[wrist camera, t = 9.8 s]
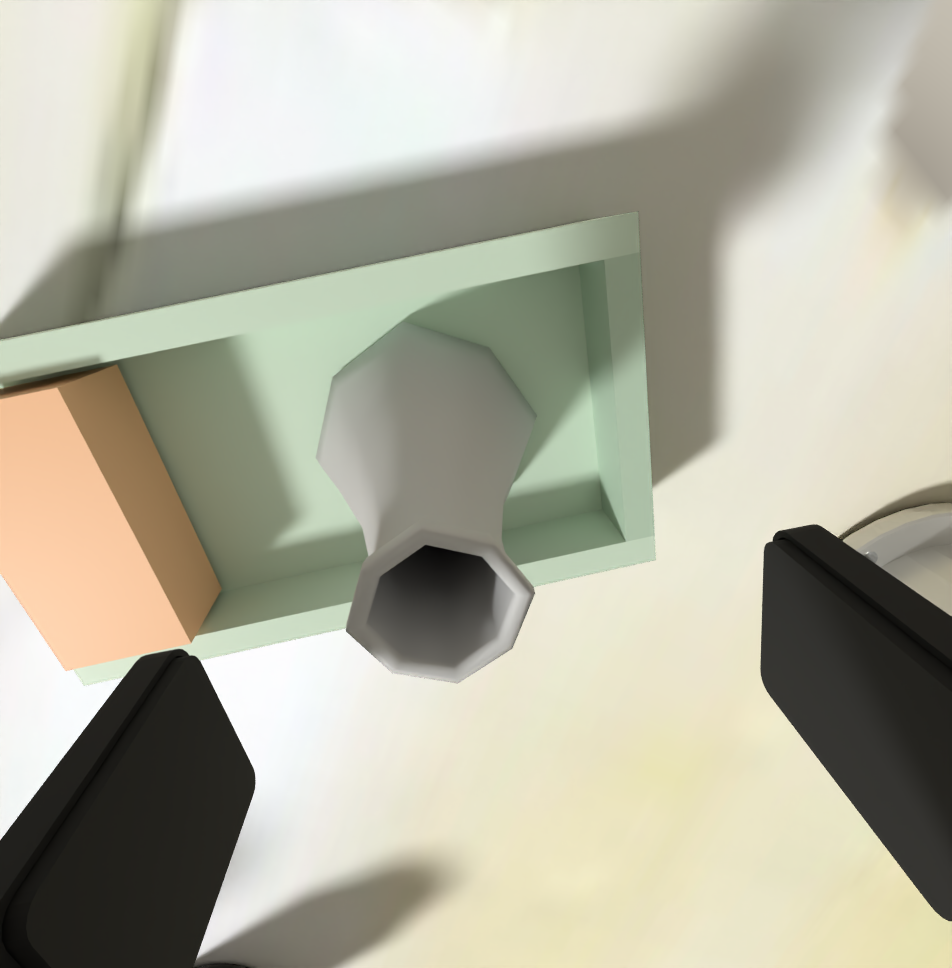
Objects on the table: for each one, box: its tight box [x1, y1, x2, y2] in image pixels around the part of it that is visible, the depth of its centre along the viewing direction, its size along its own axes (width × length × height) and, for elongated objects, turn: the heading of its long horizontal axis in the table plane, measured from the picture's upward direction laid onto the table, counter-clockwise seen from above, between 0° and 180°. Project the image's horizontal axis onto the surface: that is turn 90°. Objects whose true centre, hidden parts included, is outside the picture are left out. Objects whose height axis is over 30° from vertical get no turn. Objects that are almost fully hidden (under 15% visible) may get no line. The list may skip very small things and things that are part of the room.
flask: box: [316, 322, 537, 683], centre depth 14 cm, size 7×7×10 cm
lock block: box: [0, 364, 222, 671], centre depth 17 cm, size 4×8×3 cm, turn 10°
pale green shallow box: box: [0, 211, 656, 686], centre depth 18 cm, size 20×11×4 cm, turn 100°
